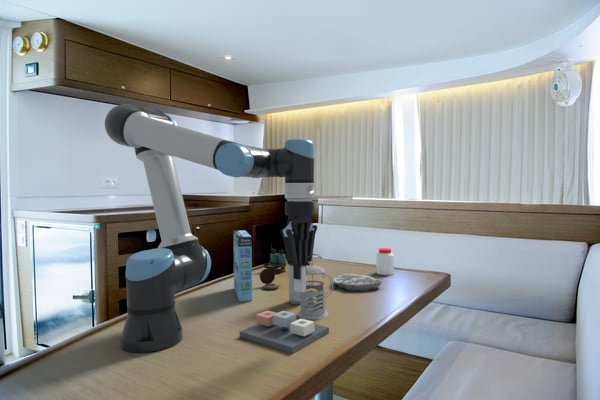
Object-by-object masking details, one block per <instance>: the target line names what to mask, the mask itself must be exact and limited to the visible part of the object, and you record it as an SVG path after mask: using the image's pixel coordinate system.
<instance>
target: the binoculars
mask: <svg viewBox="0 0 600 400" xmlns="http://www.w3.org/2000/svg"><path fill="white" fill-rule="evenodd" d="M278 251H279V252H277V250H276V248H271V253H270V254H269V255H270V256H269V259H270V260H269V261H268V262H267V263H264V264H263V267H264V269H266V268H267V269H271V270H272V271H273V272H274V274H280V273H282V272H283V273H284V272H287V269H286V267H287V257H286V253H284V252H285V250H284V249H281V250H278Z"/></svg>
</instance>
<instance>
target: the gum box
mask: <svg viewBox="0 0 600 400" xmlns="http://www.w3.org/2000/svg"><path fill="white" fill-rule="evenodd" d="M232 235H233V288H234V292H235V293H236V297H237V300H238V302H239V303H243V302H246V303H247V302H252V301H253V266H252V265H253V262H252V261H253V258H252V257H253V255H252V253H253V252H252V243H253V242H252V239H253V237H252V236H251V234H249V232H248V231H246V230H233V234H232Z"/></svg>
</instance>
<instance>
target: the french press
mask: <svg viewBox="0 0 600 400" xmlns="http://www.w3.org/2000/svg"><path fill="white" fill-rule="evenodd" d="M313 256H314V254H313V255H312V261H311V264H310V265H309V266H306V275H307V276H312V277H311V278H312V279H311V280H307V281H306V290H307V291H305V292H300V300H301V304H300V311H298V313H296V316H298V317H299V318H300V319H305V320H311V321H312V320H313V321H314V320H322V319H325V318H327V317H329V312H328V311H327V310H326V309H327V307H326V303H327V301H326V300H327V298H328V297H330V295H331V294H332V292H333V291H334V281H333V279H332V277H331V276H330V275H329V274H327V273H326V269H325V268H323V267H322V266H319V265H314V263H313V261H314V259H313ZM316 275H317V276H318V275H321V277H322V279H323V280H325V279H326V276H327V277H328V280H329V289H328V291H327V292H326V287H324V285H325V283H324V281H321V280H314V276H316ZM331 288H332V289H331ZM310 289H311V290H310ZM313 289H315V290H313ZM306 298H307V300H305V299H306Z"/></svg>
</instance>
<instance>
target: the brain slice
mask: <svg viewBox="0 0 600 400" xmlns="http://www.w3.org/2000/svg"><path fill="white" fill-rule="evenodd" d="M332 280H333V283H334V284H335V285H337V286H338V287H339V288H340V289H345V290H347V291H352V292H353V291H355V292H356V291H360V292H361V291H363V292H364V291H365V292H366V291H371V290H376V289H377V288H379V287H380V285H381V284H382V280H381V279H377V278H374V277H372V276H370V275H369V276H368V275H362V274H354V273H344V274H338V275H334V277H333V279H332Z"/></svg>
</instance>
